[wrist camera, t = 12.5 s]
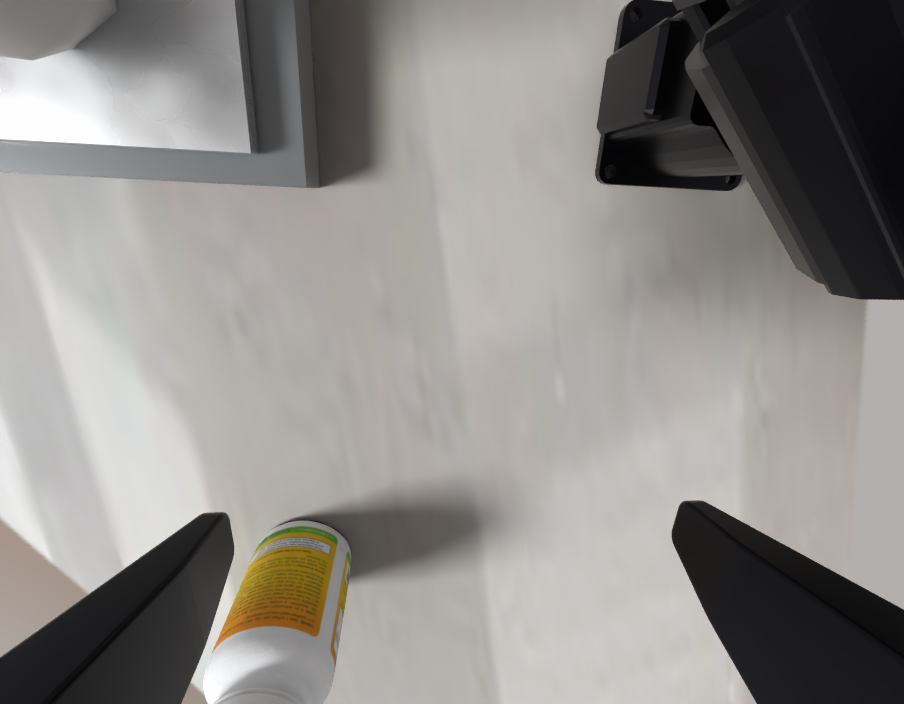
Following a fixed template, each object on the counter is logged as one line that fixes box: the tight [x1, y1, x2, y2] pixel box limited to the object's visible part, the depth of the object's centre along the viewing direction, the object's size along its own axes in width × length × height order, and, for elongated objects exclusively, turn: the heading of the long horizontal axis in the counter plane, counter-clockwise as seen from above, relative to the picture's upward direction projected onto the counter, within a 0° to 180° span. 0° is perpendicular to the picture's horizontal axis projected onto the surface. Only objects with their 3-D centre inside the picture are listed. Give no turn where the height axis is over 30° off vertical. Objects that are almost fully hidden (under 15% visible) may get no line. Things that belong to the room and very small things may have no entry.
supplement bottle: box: [203, 521, 351, 704], centre depth 20 cm, size 5×5×10 cm
